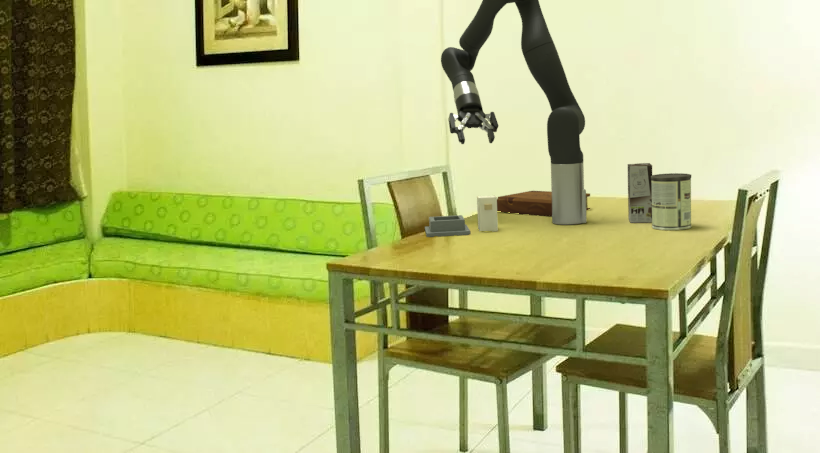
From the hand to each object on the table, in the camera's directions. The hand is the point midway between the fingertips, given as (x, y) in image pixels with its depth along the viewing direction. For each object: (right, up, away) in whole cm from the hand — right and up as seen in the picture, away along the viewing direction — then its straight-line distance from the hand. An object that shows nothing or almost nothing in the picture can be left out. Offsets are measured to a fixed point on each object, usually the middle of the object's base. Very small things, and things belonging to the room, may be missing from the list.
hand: (477, 142), depth 249 cm
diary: (+23, -20, +25) cm, 40 cm away
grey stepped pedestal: (-9, -26, -9) cm, 29 cm away
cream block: (+2, -26, -8) cm, 27 cm away
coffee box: (+46, -23, -5) cm, 52 cm away
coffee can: (+50, -25, -20) cm, 60 cm away
